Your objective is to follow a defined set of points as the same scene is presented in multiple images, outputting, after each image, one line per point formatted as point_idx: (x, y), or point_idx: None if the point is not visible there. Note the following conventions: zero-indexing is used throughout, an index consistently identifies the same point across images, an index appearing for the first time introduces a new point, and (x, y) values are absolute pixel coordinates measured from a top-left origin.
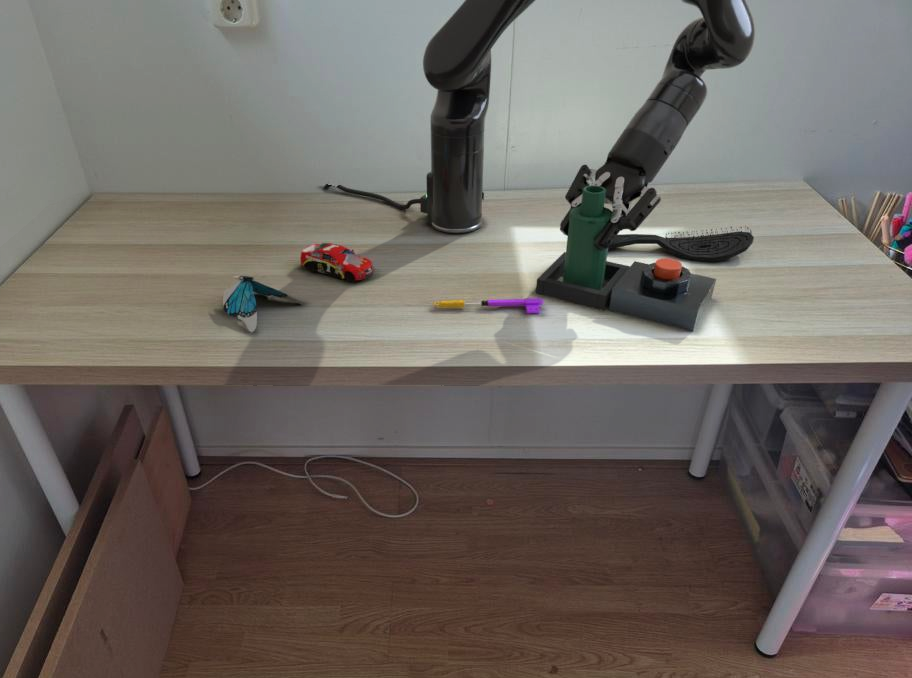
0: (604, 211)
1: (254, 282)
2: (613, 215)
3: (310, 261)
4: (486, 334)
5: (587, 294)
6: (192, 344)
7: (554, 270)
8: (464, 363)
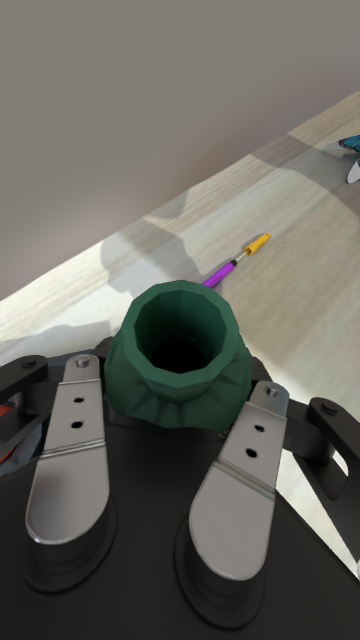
0: (148, 403)
1: None
2: (91, 369)
3: None
4: (189, 237)
5: None
6: (328, 130)
7: None
8: (170, 201)
